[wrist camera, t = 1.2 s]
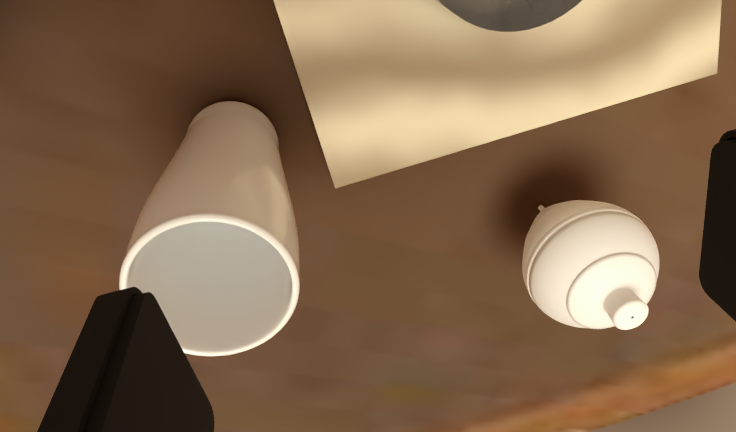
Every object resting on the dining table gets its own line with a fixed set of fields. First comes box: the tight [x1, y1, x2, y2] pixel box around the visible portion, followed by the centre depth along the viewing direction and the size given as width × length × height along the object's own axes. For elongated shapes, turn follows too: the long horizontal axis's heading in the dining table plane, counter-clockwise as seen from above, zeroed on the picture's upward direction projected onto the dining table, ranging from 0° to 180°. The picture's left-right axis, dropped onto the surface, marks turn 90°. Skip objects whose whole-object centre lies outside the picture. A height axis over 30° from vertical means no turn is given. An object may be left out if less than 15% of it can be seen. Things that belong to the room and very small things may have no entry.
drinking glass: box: [119, 101, 300, 356], centre depth 28 cm, size 7×7×15 cm
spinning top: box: [522, 200, 659, 330], centre depth 35 cm, size 8×8×12 cm
